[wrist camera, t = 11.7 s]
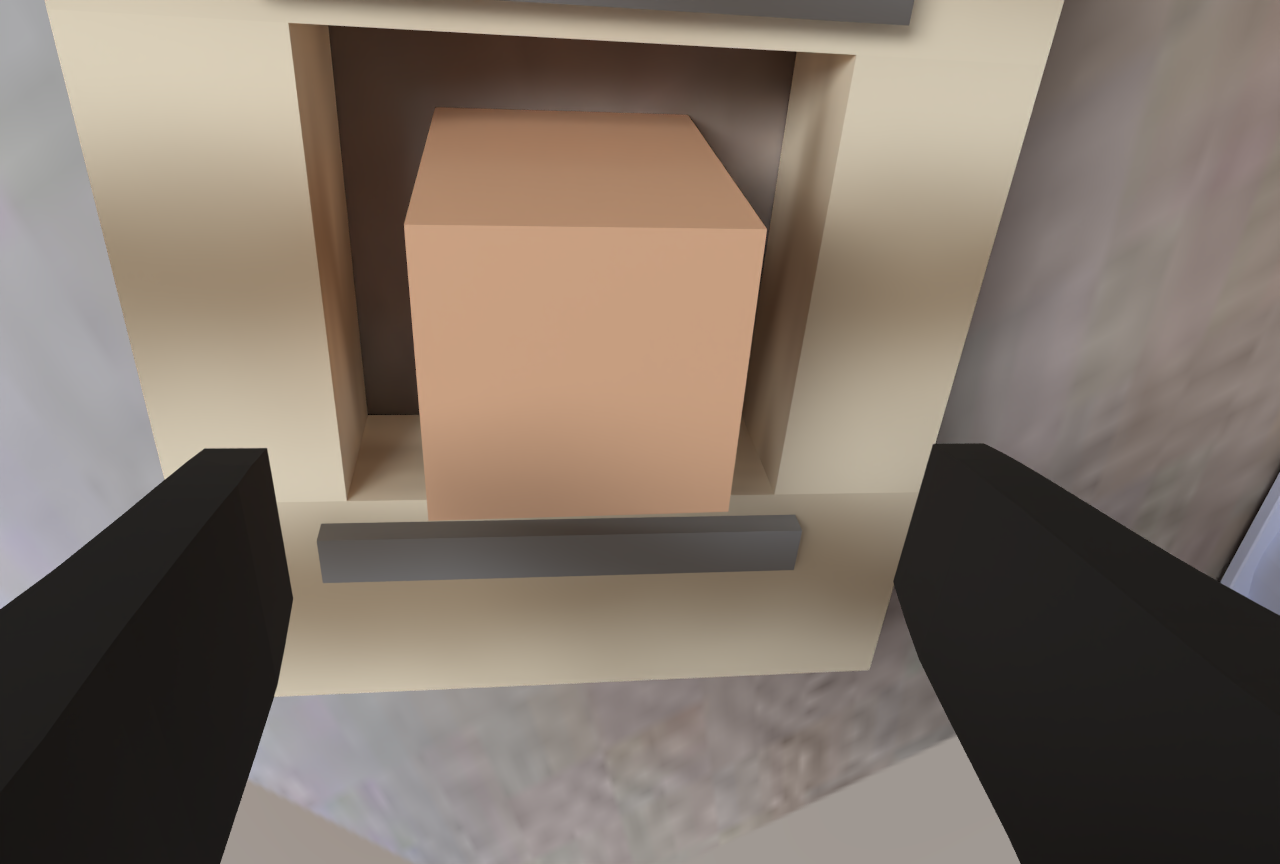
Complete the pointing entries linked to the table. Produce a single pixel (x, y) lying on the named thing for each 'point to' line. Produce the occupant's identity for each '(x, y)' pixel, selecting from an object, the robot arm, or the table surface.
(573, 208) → the block
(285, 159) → the slotted wooden holder
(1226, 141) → the table surface
